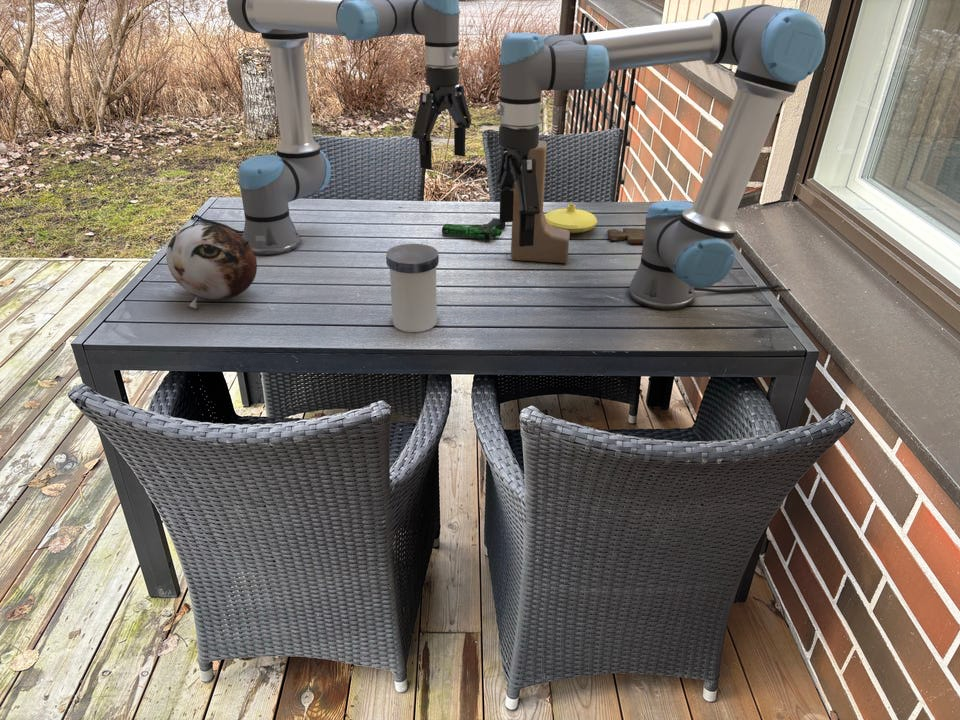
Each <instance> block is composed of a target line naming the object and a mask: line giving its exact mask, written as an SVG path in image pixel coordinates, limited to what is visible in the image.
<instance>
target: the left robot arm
mask: <svg viewBox="0 0 960 720" xmlns="http://www.w3.org/2000/svg"><path fill="white" fill-rule="evenodd" d="M226 7H227V12H228V15H229V17H230V19H231V21H232V22H233V23H234V25H236V26H237V28H239V29H240V30H242V31H244V32H246V33H250V34H260V35H261V40H262V41H264V42H265V43H266V44H267V46H268V48H269V57H270V63H271V72H272V81H273V88H274V96H275V103H276V111H277V119H278V128H279V135H280V142H279V143H278V145H277V146H276V148H275V149H276V150H275V151H276V154H262V155H254V156H253V157H250V158H247V159H245V160H244V161H242V162H241V163H240V164H239V166H238V168H237V174H238V185H239V190H240V194H241V195H240V196H241V201H242V208H243V212H244V213H243V215H244V219H245V220H244V226H243V228H244V229H243V230H239V229H236V228H233V227H231V226H229V225H227V224H224V223H223V222H218V221H214V220H211V219H207V218H205V217H204V218H203V217H202V216H200V215H198V214H192V216H190V220H194V219H198V220H200V221H202V222H204V223H206V224H216V225H220V226H224V227H226V228H229V229H231V230H233V231H234V232H236V233H237V234H239V235H240V234H241V235H242V237H243V238H244V239H245V240H246V241H249V242H248V244H249V245H250V247H251V248H252V250H253V252H254V254H255V256H256V255H257V256H275V255H281V254H282V255H283V254H285V253H289V252H291V251H293V250H296V249H297V248H298V247H299V246H300V244H301V241H300V235H299V233H298V231H297V229H296V227H295V225H294V223H293V220H292V218H291V216H290V207H289V203H291V202H293V201H296V200H299V199H302V198H305V197H309V196H312V195H315V194H317V193H318V192H321V191H322V190H324V189H325V188H326V187H328V185H329V183H330V180H331V175H332V168H331V163H330V160H329V158H327V155H326V153H325V152H324V151H323V150H321V146H320V144H319V143H318V142H316V141H315V140H314V134H313V133H314V132H313V123H312V115H311V114H312V113H311V104H310V94H309V93H310V92H309V84H308V75H307V65H306V55H305V44H306V43H307V41H308V40H309V39H310V36H309V34H310V33H311V34H319V35H320V34H321V35H328V36H329V35H330V36H339V37H345V38H346V39H347V40H350V41H359V42H360V41H361V42H362V41H363V42H364V41H368V40H373V39H378V38H385V37H392V36H400V35H418V36H424V64H425V65H426V67H425V72H424V73H425V84H426V85H427V86H428V87H429V92H420V94H419V104H418V109H417V112H416V117H415V121H414V125H413V130H412V132H411V138H412V139H415V140H417V141H418V153H419V159H420V160H419V163H420V165H419V168H420V169H425V170H432V169H433V163H432V162H433V161H432V160H433V157H432V139H430V136H431V135H432V133H433V129H434V128H435V127H434V126H435V125H436V122H437V120H438V117H439V115H441V114H442V112H444V111H446V110H447V112H448V113H449V115H450V117H451V119H452V120H453V123H454V124H455V126H456V127H453V130H454V131H453V155H454V156H456V157H463V158H464V157H466V136H467V135H466V133H467V132H466V130H467V129H470V127H471V124H472V117H471V114H470V110H469V107H468V102H467V99H466V96H465V87H464V85H462V84H460V68H459V67H458V65H459V64H460V41H459V40H460V39H459V38H460V34H459V33H460V31H459V30H460V13H461V10H460V3H459V0H226ZM194 215H195V216H194ZM193 216H194V217H193Z"/></svg>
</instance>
